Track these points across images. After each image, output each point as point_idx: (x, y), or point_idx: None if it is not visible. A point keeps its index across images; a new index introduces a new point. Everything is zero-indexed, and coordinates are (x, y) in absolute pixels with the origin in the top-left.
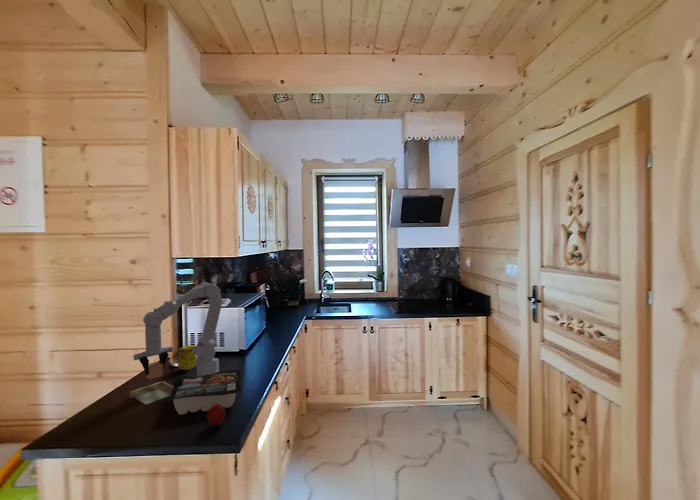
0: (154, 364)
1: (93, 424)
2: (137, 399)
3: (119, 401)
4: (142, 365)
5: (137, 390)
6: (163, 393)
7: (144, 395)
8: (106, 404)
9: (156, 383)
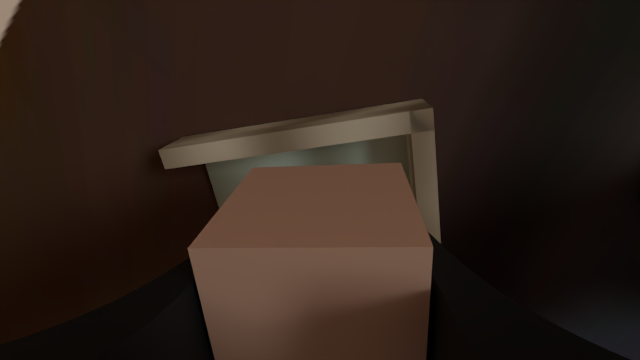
0: (318, 352)
1: (36, 324)
2: (220, 206)
3: (121, 145)
4: (130, 301)
5: (211, 161)
6: None
7: None
8: (50, 133)
9: (367, 127)
